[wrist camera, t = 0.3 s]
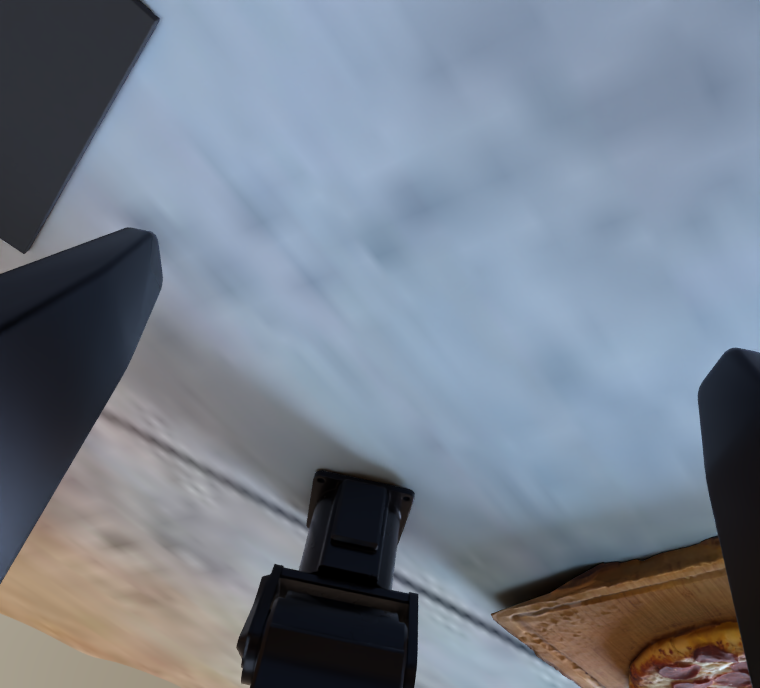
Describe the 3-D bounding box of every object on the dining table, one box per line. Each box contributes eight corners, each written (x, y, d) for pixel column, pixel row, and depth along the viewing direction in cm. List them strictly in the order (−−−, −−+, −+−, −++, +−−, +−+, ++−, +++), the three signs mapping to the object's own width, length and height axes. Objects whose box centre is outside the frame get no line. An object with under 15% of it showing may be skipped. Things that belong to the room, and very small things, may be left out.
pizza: (1027, 713, 45) (1063, 769, 42) (670, 745, 59) (679, 788, 57) (889, 478, 30) (929, 541, 28) (462, 597, 45) (460, 646, 42)
